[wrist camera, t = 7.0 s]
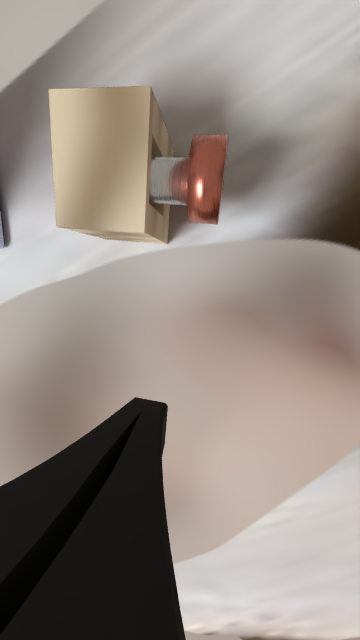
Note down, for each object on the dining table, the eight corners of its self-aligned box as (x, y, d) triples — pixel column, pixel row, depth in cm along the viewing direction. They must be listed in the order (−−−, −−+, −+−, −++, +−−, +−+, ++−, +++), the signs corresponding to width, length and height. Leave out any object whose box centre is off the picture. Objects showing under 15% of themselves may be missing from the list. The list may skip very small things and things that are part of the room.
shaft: (98, 221, 15) (58, 206, 11) (98, 157, 14) (53, 114, 10) (217, 230, 14) (217, 215, 10) (226, 159, 13) (230, 112, 9)
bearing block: (105, 239, 16) (56, 226, 11) (104, 149, 15) (48, 89, 10) (167, 243, 16) (144, 232, 11) (173, 150, 14) (150, 86, 9)
